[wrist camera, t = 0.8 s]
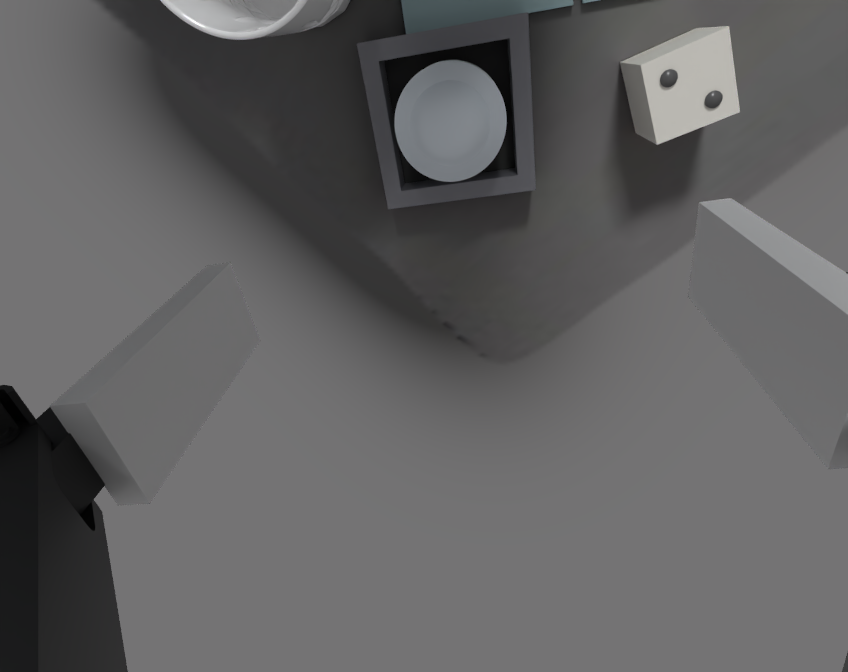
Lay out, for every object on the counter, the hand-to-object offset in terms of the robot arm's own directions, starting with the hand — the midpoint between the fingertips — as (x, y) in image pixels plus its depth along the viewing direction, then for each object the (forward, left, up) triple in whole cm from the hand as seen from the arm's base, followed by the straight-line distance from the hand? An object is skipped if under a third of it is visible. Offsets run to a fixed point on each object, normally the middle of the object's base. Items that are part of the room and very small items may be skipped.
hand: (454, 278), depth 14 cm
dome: (-2, 0, -19) cm, 19 cm away
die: (-2, +12, -19) cm, 23 cm away
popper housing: (-2, 0, -19) cm, 19 cm away
